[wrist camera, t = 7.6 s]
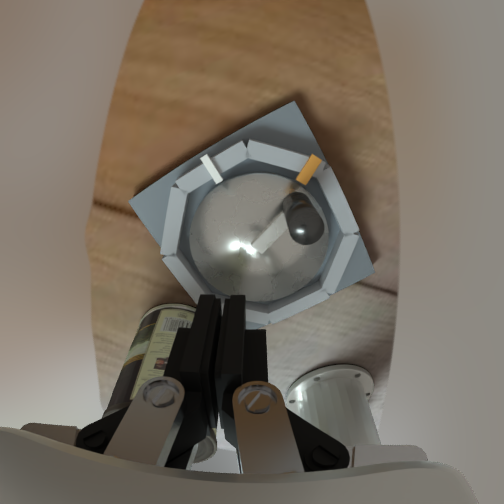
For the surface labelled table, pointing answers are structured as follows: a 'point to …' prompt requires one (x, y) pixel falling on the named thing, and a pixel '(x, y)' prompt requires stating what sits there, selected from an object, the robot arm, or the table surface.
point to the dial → (259, 236)
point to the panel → (249, 160)
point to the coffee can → (155, 361)
